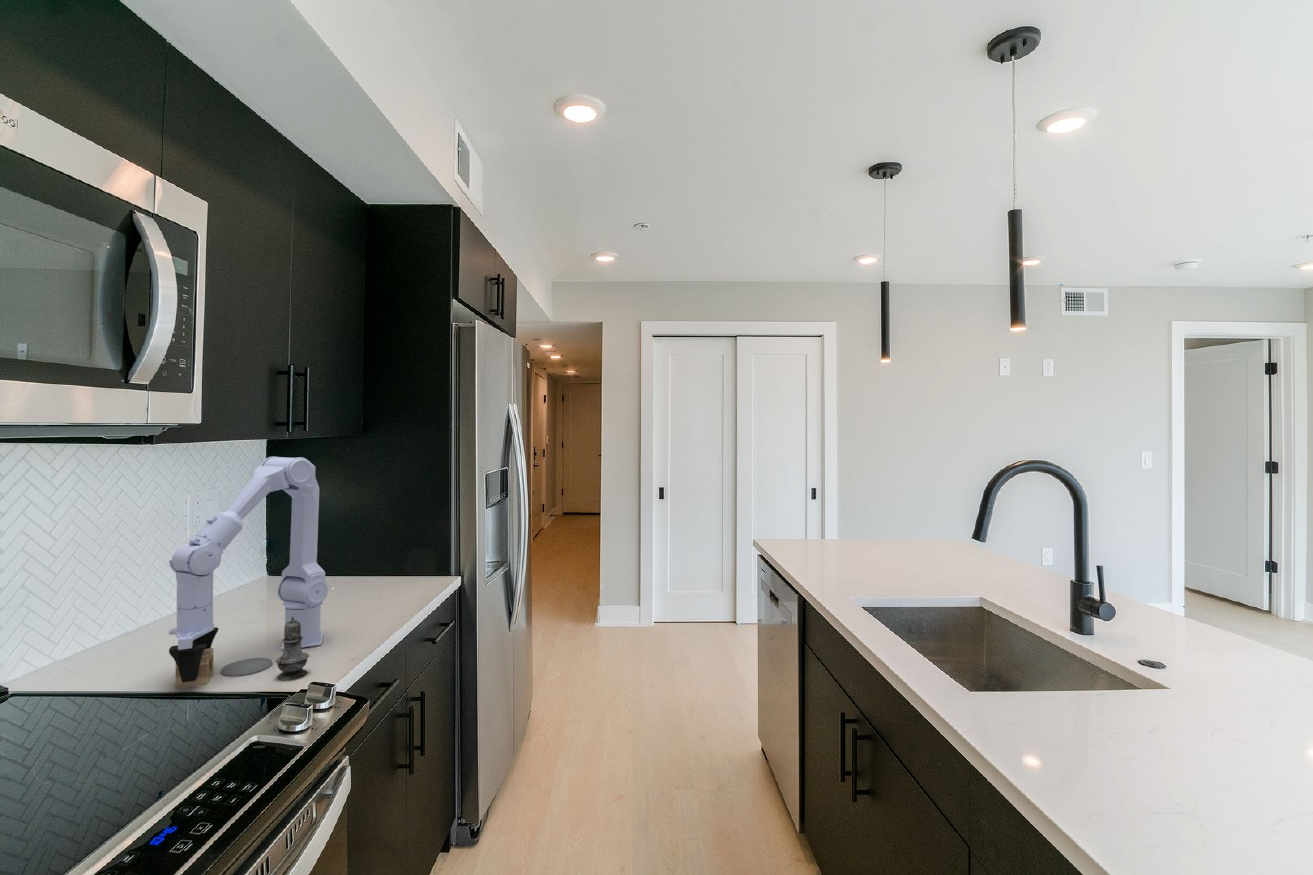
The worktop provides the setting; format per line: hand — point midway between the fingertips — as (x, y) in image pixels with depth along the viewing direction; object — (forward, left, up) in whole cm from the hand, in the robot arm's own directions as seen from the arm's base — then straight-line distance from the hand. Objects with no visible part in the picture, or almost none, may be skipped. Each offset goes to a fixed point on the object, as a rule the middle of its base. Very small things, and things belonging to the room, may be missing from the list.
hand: (194, 673), depth 118 cm
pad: (-4, +8, -2) cm, 9 cm away
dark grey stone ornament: (+4, +17, -2) cm, 18 cm away
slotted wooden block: (0, 0, -2) cm, 2 cm away
